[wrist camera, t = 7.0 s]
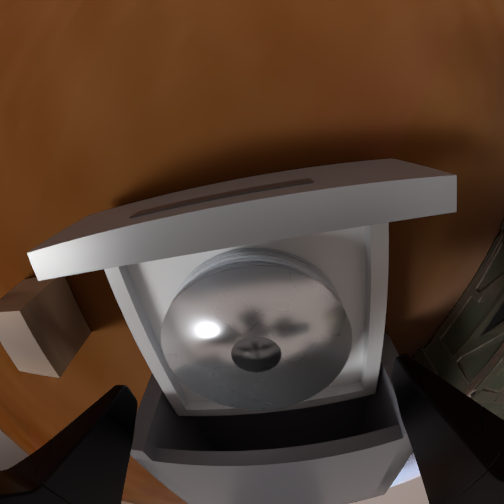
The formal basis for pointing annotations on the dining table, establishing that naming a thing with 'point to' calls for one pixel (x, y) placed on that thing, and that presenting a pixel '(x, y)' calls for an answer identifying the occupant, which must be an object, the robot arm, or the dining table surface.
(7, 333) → the walnut block
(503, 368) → the radio
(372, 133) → the dining table surface
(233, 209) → the tray
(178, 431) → the grey drawer cabinet
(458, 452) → the robot arm
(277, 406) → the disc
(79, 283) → the dining table surface
